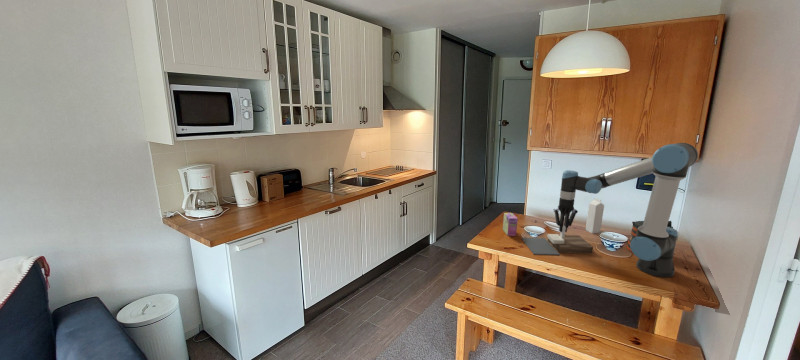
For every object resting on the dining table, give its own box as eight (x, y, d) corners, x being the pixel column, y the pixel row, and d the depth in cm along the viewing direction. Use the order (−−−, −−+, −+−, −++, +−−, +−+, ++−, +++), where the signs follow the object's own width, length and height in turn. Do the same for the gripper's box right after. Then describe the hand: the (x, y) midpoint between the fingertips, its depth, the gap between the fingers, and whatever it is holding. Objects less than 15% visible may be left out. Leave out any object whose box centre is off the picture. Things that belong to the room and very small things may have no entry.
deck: (592, 253, 182) (593, 246, 181) (559, 252, 183) (559, 246, 182) (578, 241, 198) (579, 235, 197) (548, 240, 198) (548, 234, 198)
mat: (559, 255, 180) (559, 254, 180) (533, 254, 181) (533, 253, 181) (544, 238, 201) (544, 238, 201) (521, 238, 202) (521, 237, 202)
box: (516, 235, 206) (517, 218, 203) (507, 235, 206) (508, 218, 203) (511, 229, 216) (512, 212, 213) (502, 229, 216) (503, 212, 214)
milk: (592, 233, 210) (596, 200, 205) (585, 230, 216) (589, 198, 210) (600, 232, 211) (605, 200, 206) (593, 229, 217) (597, 197, 211)
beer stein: (663, 249, 187) (670, 216, 182) (671, 260, 174) (679, 225, 169) (624, 243, 195) (629, 212, 190) (629, 254, 182) (635, 220, 177)
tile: (564, 243, 185) (564, 240, 185) (553, 243, 185) (553, 240, 185) (557, 237, 194) (557, 234, 193) (547, 237, 194) (547, 234, 194)
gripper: (575, 196, 187) (570, 234, 193) (552, 195, 188) (548, 234, 193) (582, 200, 180) (576, 239, 185) (558, 199, 180) (553, 239, 186)
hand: (562, 236), depth 189 cm, fingers closed
